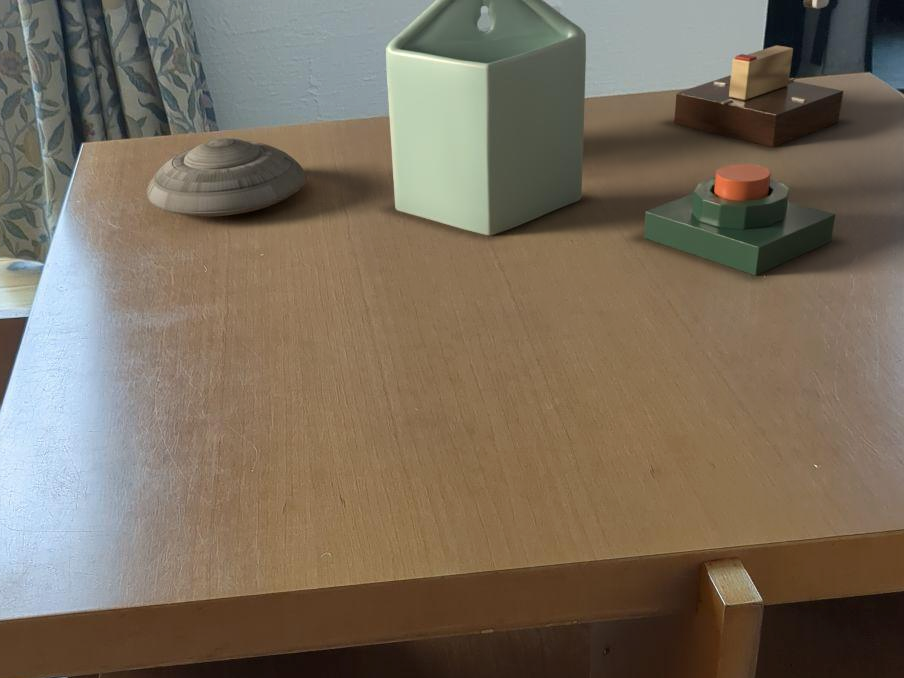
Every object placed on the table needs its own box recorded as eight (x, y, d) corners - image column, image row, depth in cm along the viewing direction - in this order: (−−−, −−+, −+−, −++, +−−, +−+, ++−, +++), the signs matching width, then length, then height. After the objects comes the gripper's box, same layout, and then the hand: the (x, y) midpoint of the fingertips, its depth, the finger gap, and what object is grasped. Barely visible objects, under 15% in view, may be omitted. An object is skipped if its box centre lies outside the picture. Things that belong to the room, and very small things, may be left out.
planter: (392, 241, 96) (375, -16, 85) (395, 207, 103) (379, -36, 91) (590, 230, 95) (600, -33, 83) (580, 197, 101) (588, -52, 90)
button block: (831, 241, 89) (839, 190, 87) (755, 275, 85) (762, 223, 83) (717, 208, 97) (722, 160, 94) (643, 237, 93) (646, 188, 90)
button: (779, 194, 88) (782, 171, 87) (744, 207, 87) (747, 185, 86) (736, 182, 91) (739, 160, 90) (702, 195, 89) (704, 173, 88)
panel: (840, 121, 113) (846, 88, 111) (770, 148, 108) (774, 113, 106) (741, 100, 121) (744, 68, 119) (671, 124, 116) (674, 91, 114)
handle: (771, 82, 115) (776, 42, 112) (788, 85, 113) (793, 45, 111) (728, 96, 112) (732, 56, 110) (745, 100, 110) (749, 59, 108)
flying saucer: (141, 187, 113) (130, 131, 110) (291, 164, 115) (284, 107, 112) (157, 240, 101) (146, 177, 98) (324, 212, 103) (317, 150, 100)
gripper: (923, -177, 94) (893, 6, 102) (721, -176, 108) (709, -15, 116) (876, -168, 91) (849, 20, 99) (675, -167, 105) (665, -3, 113)
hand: (772, 1), depth 107 cm, fingers open, 8 cm apart
